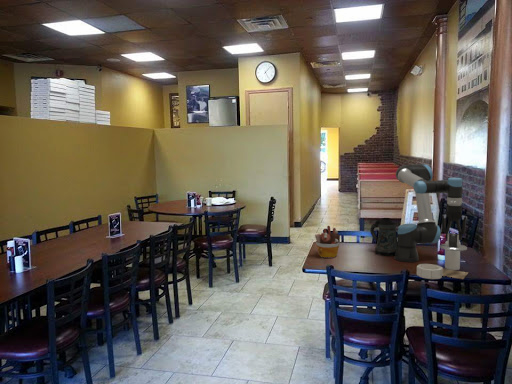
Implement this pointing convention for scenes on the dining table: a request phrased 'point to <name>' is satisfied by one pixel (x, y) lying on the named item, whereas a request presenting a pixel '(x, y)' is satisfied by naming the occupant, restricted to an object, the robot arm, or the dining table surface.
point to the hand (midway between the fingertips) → (453, 245)
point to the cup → (452, 259)
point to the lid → (453, 244)
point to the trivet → (454, 274)
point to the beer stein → (385, 237)
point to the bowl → (429, 271)
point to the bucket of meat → (328, 243)
